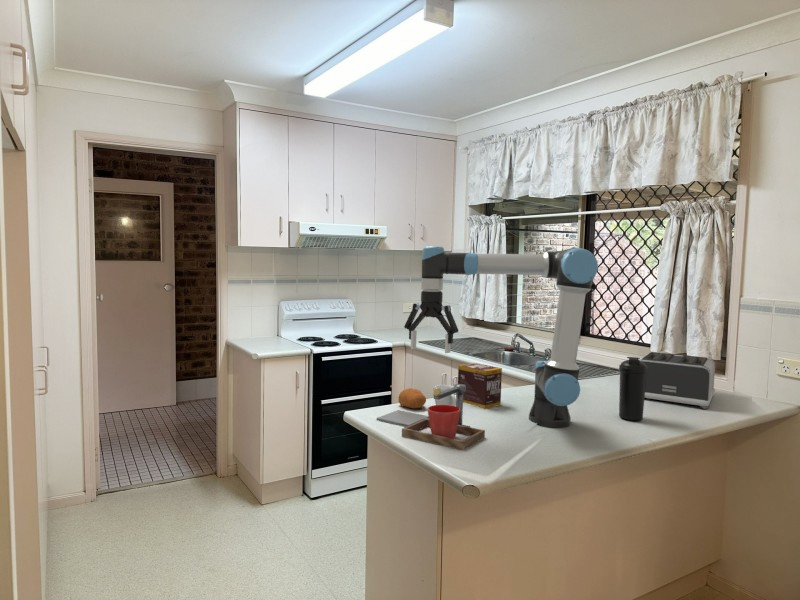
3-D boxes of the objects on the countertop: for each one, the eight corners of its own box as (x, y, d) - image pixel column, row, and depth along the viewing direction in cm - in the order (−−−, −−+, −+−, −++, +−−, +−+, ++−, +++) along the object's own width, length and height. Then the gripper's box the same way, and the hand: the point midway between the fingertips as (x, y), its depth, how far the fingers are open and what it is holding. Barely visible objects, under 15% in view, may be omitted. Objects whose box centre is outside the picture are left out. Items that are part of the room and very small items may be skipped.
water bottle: (643, 415, 220) (647, 357, 218) (646, 422, 210) (649, 361, 208) (616, 412, 223) (619, 355, 221) (617, 419, 213) (620, 359, 212)
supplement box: (485, 409, 223) (486, 370, 222) (456, 401, 235) (457, 364, 234) (501, 405, 230) (502, 367, 229) (473, 398, 241) (474, 362, 240)
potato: (413, 403, 230) (414, 385, 229) (430, 409, 221) (431, 391, 220) (395, 406, 225) (395, 388, 224) (412, 413, 215) (412, 393, 215)
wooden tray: (484, 437, 187) (484, 430, 187) (463, 450, 174) (463, 442, 174) (425, 425, 200) (425, 418, 199) (401, 435, 187) (401, 428, 187)
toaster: (715, 393, 261) (717, 355, 259) (708, 410, 231) (711, 367, 230) (644, 384, 277) (646, 348, 276) (629, 398, 248) (631, 358, 246)
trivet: (429, 418, 208) (429, 416, 208) (408, 427, 197) (408, 424, 197) (397, 412, 216) (397, 410, 216) (376, 420, 205) (376, 418, 204)
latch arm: (467, 390, 196) (467, 380, 195) (440, 401, 180) (440, 390, 179) (457, 389, 198) (457, 378, 198) (429, 399, 182) (429, 388, 182)
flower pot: (424, 432, 192) (425, 404, 191) (456, 431, 193) (457, 404, 192) (429, 442, 181) (429, 412, 180) (462, 441, 182) (463, 412, 181)
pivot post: (470, 428, 197) (471, 392, 196) (462, 432, 192) (463, 395, 191) (455, 425, 200) (456, 389, 199) (446, 429, 195) (447, 392, 194)
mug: (462, 412, 217) (463, 389, 216) (446, 415, 213) (447, 391, 212) (445, 406, 226) (446, 383, 225) (430, 409, 222) (430, 385, 221)
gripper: (469, 292, 193) (467, 353, 194) (406, 288, 205) (405, 346, 207) (460, 292, 186) (457, 355, 188) (395, 289, 199) (394, 348, 200)
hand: (430, 350), depth 197 cm, fingers open, 13 cm apart
